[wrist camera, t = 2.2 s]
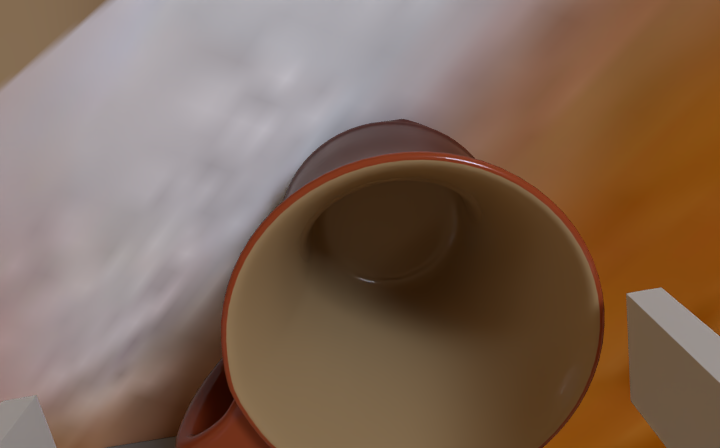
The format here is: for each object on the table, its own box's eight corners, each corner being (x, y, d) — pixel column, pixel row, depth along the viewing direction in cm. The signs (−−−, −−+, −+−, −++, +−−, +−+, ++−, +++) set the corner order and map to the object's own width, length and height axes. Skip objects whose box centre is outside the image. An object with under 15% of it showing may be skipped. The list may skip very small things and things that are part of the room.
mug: (409, 41, 23) (460, 64, 13) (545, 228, 25) (676, 368, 15) (156, 243, 25) (34, 396, 15) (303, 398, 27) (281, 618, 17)
